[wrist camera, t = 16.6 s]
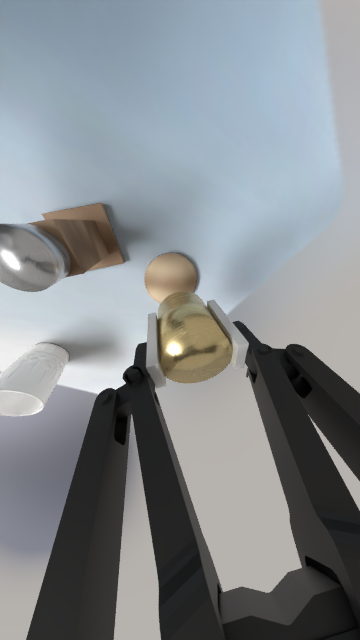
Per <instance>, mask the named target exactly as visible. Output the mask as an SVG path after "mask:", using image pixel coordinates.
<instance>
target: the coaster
mask: <svg viewBox="0 0 360 640" xmlns="http://www.w3.org/2000/svg"><path fill="white" fill-rule="evenodd" d="M196 284H197V275H196V271H195V268H194V266H193V265H192V263H191V262H190V261H189V260H188V259H187V258H185V257H184V256H182V255H179V254H175V253H166V254H162V255H160V256H158V257H156V258H155V259H154V260H153V261H152V262H151V263H150V264H149V266H148V268H147V270H146V273H145V286H146V289H147V291H148V293H149V295H150V296H151V297H152V298H153V299H154V300H155V301H157V302H159V303H161V302H162V301H163V300H164V299H165V298H166V297H168V296H169V295H171V294H173V293H176V292H180V291H188V292H192V293H193V292H194V290H195V287H196Z"/></svg>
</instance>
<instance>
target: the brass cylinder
mask: <svg viewBox="0 0 360 640" xmlns="http://www.w3.org/2000/svg"><path fill="white" fill-rule="evenodd" d="M158 328H159V346H160V365H161V369H162V371H163V374H164V375H165V376H166V377H167V378H169V379H170V380H172V381H175V382H179V383H196V382H201V381H204V380H207V379H210V378H212V377H214V376H216V375H217V374H219V373H220V372H221V371H223V370H224V368H226V367H227V366H228V364H229V363H230V361H231V359H232V352H233V348H232V345H231V343H230V342H229V340H228V339H227V337H226V336H225V334H224V333H223V331H222V330H221V328H220V327H219V325H218V324H217V322H216V320H215V319H214V317H213V316H212V314H211V313H210V311H209V310H208V308H207V307H206V305H205V304H204V302H203V301H202V299H201V298H200V297H199V296H198V295H196V294H194V293H192V292H188V291H180V292H176V293H173V294H171V295H169V296H168V297H166V298H165V299H164V300H163V301H162V302H161V304H160V306H159V309H158Z"/></svg>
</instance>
